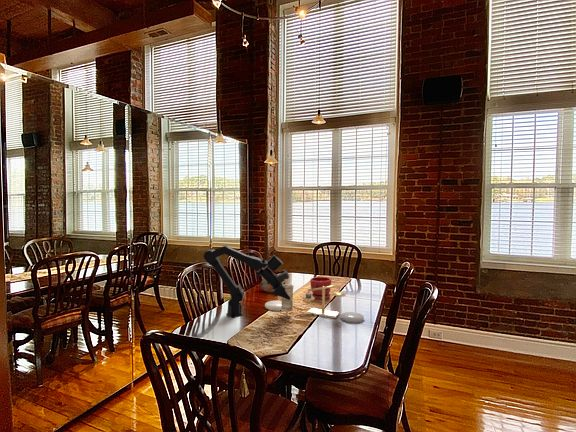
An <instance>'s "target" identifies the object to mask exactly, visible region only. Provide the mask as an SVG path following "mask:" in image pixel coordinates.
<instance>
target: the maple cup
mask: <svg viewBox="0 0 576 432" xmlns="http://www.w3.org/2000/svg"><path fill="white" fill-rule="evenodd" d="M283 286H284V287H285V291H286V292H287V294H288V295H289V297H290V300H288V299H285V298H283V297H281V301H282V305H281V311H282V312H284V313H285V312H286V313H287V312H293V311H294V307H293V303H294V300H293V299H294V287H295V285H294V284H289V283H285V284H284V285H283ZM281 311H280V312H281Z"/></svg>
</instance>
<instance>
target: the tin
mask: <svg viewBox="0 0 576 432" xmlns="http://www.w3.org/2000/svg"><path fill="white" fill-rule="evenodd" d="M260 287H261V289H262V290H263V291H265V292H270V293H273V289H272V286H271V285H270V284H267V281H266V280H265V279H264V278H262V280H261V282H260Z"/></svg>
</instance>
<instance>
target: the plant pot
mask: <svg viewBox="0 0 576 432" xmlns="http://www.w3.org/2000/svg"><path fill="white" fill-rule="evenodd" d="M323 286H325V287H328V286H332V279H331V278H330V277H327V276H315V277H314V276H313V277H311V278H310V289H314V288H321V287H323ZM331 289H332V288H327V289H325V300H326V299H329V298H330V297H331V293H330V291H331ZM311 292H312V293H311V296H313V297H315V299H316V298H317V300H322V289H320V290H313V291H311Z"/></svg>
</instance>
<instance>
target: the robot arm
mask: <svg viewBox="0 0 576 432" xmlns="http://www.w3.org/2000/svg"><path fill="white" fill-rule="evenodd" d="M223 255H225V256H228V257H231V258H233V259H235V260H238V261H240V262H241V263H244V264H246V266H248V267H249V268H251V269H252V270H254V271H255V272H256V278H258V277H259V276H261V278H262V279H265V280H266V281H267V284H270V285H271V286H272V289H273V292H272V294H273V295H274V296H275V297H280V298H282V297H283V298H285V299H288V300H290V297H289V295H288V294H287V292H286V291H285V287H284V286H283V285H284V284H286V281H285V280H288V279H289V278H290V275H289V272H288V271H287V270H285V269H282V270H280V273H279V274H277V273H275V272H276V271H277V270H278V269H279V268H281V266H282V265H284V263H283V261H282V260H281V258H279V257H278V256H276V254H273V255H272V256H271V257H270V258H269V260H264V259H261V258H260V257H256V256H253V255H248V254H245V253H243V252H241V251H240V250H236V249H234V248H232V247H230V246H228V245H223V246H221V247H218V248H215V249H213V248H210V249H208V250H206V251H204V253H203V260H205V262H206V263H208V265H210V266H211V267H212V268H214V270H215V272H216V273H217V274H218V276H219V277H220V279H221V281H222V282H223V283H224V285H225V286H226V287H227V289H228V292H229V295H230V298H229V299H228V301H227V313H226V316H228V317H231V318H236V317H240V316H243V313H242V303H241V302H242V301H243V298H244V297H245V292H244V291H245V289H243V287H242V285H241V284H240V283H239V284H236V283H235V281H234V280H233V279H232V277H231V276H230V275H229V273H228V271H227V270H226V268H225V267H224V266H223V264H222V263H221V260H220V257H221V256H223ZM274 271H275V272H274Z"/></svg>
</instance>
